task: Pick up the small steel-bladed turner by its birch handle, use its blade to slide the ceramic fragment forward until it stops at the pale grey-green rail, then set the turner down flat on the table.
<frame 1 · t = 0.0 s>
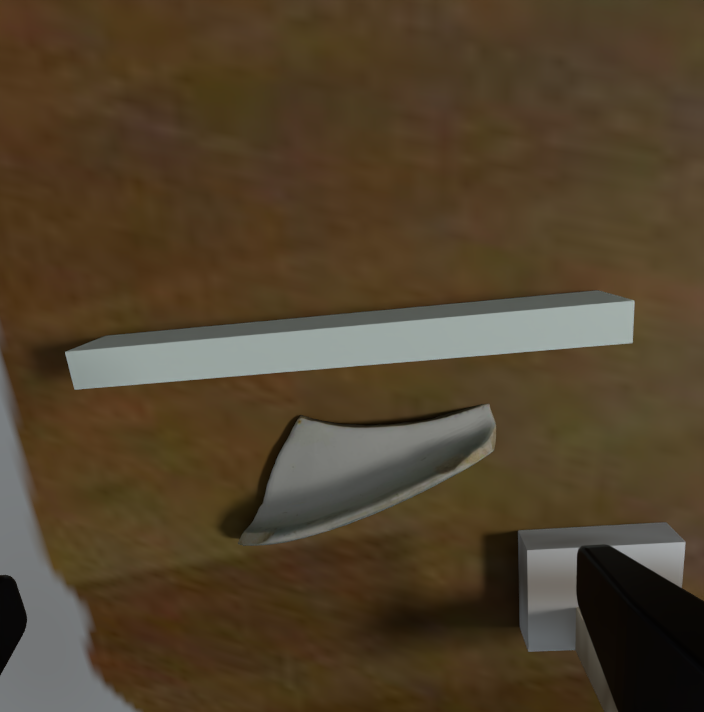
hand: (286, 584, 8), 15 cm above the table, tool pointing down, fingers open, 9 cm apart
stop rail: (344, 331, 21), on the table
turner: (588, 602, 25), on the table
ceramic fragment: (360, 467, 24), on the table
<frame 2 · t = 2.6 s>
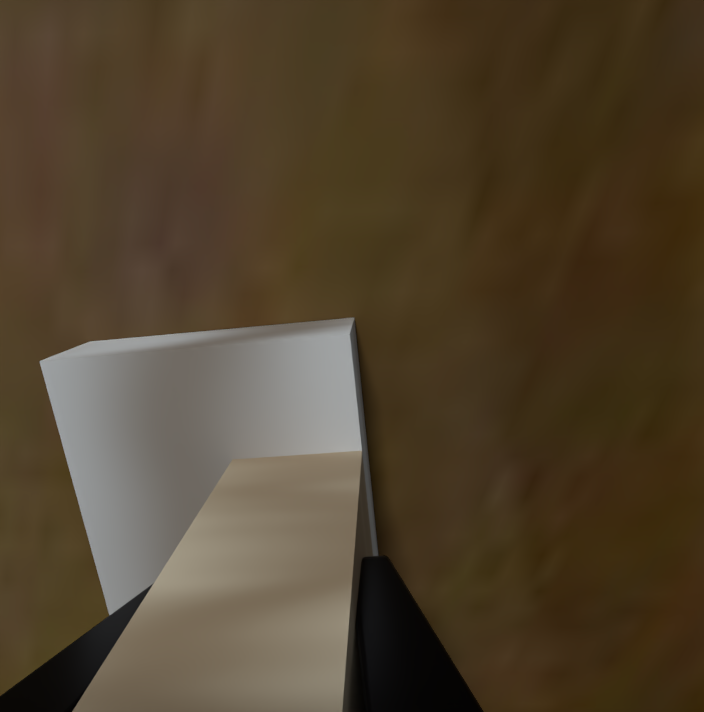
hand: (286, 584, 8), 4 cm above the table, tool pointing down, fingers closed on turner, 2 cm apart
turner: (315, 472, 11), on the table, touching gripper
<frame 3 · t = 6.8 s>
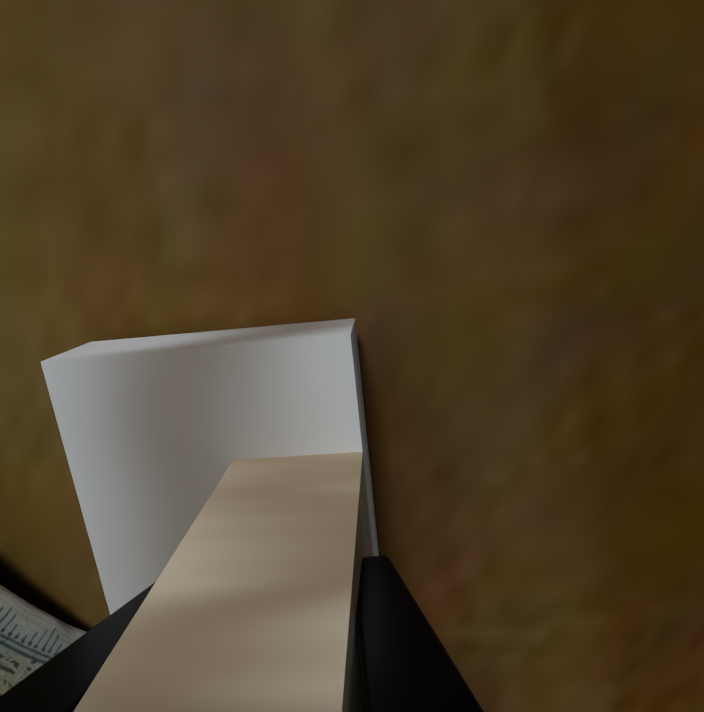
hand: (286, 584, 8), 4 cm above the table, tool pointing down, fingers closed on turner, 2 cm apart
turner: (315, 473, 11), on the table, touching gripper
when the fingers open (4 cm above the table, at t = 9.4 s): turner drops 1 cm, on the table.
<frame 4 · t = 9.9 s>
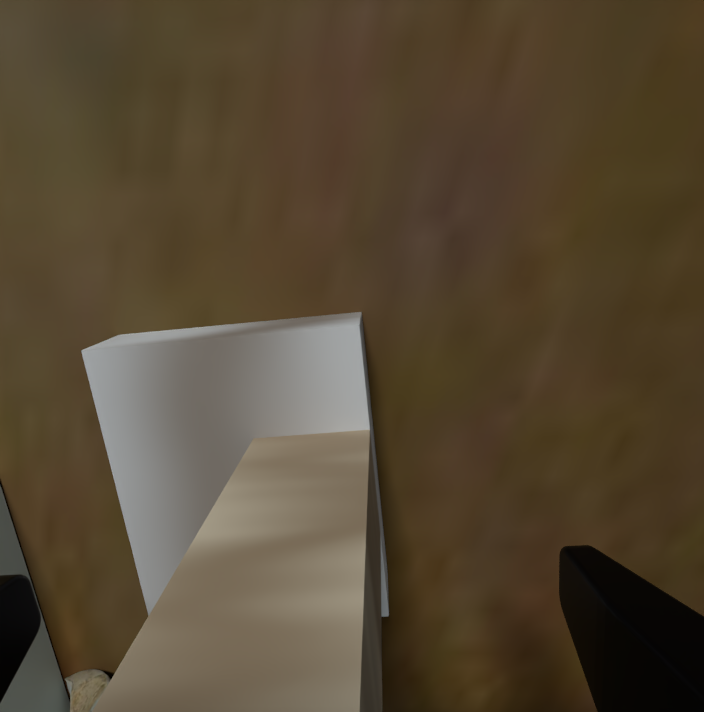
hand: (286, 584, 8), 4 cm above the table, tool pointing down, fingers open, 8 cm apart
turner: (325, 453, 12), on the table
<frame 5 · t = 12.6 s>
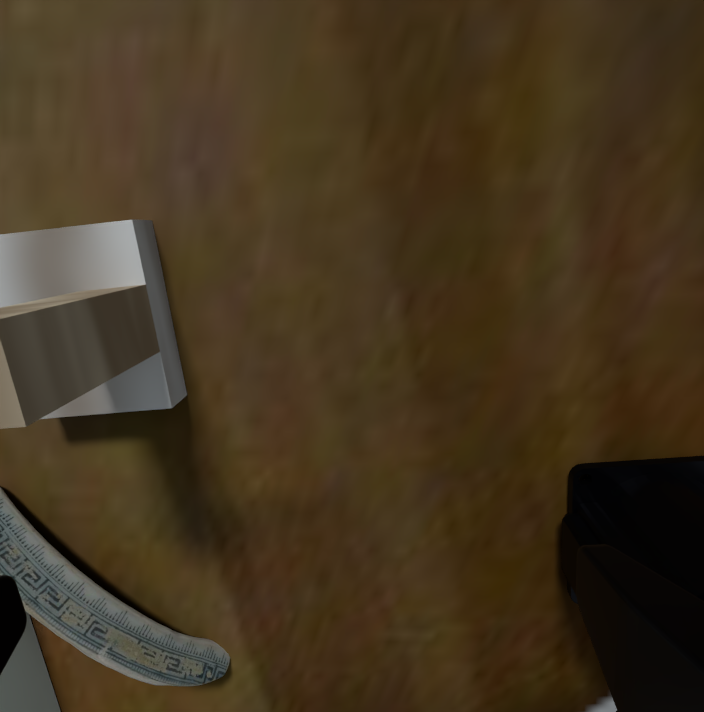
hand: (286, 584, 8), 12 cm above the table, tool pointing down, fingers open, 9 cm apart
turner: (141, 314, 19), on the table
ceramic fragment: (113, 572, 23), on the table
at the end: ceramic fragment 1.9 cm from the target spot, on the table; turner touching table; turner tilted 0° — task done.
